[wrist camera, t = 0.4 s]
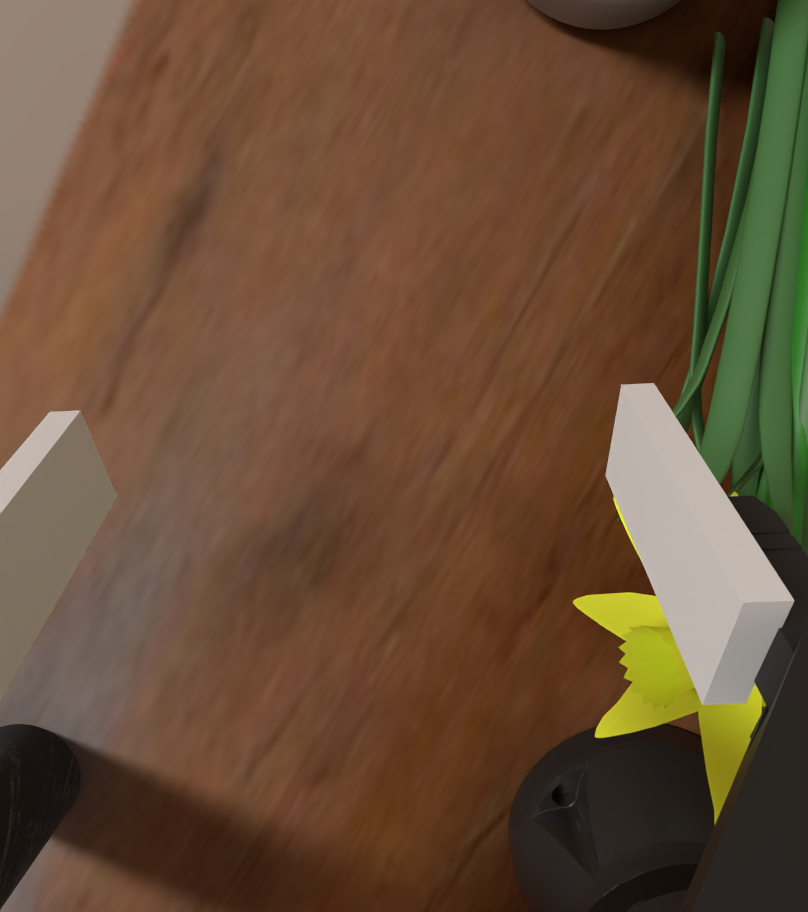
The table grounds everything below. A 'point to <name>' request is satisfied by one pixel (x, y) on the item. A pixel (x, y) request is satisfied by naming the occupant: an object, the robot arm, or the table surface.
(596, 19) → the light blue short cylinder
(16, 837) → the travel mug
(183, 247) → the table surface
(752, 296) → the daffodil flowers
